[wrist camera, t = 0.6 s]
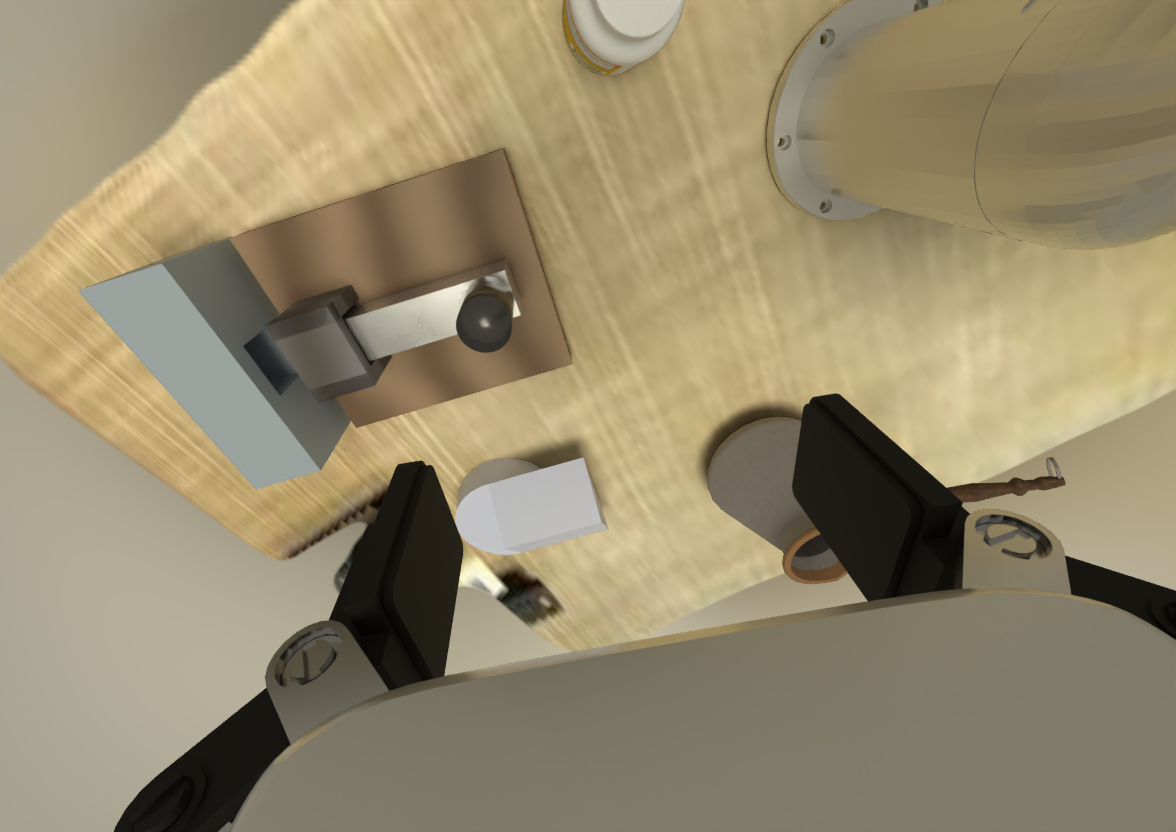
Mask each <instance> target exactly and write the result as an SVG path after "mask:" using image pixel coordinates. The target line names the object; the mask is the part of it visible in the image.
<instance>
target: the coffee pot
mask: <svg viewBox="0 0 1176 832" xmlns="http://www.w3.org/2000/svg"><path fill="white" fill-rule="evenodd" d="M800 428H801V420H798V419H794V418H790V417H770V418H765V419H759V420H757V421H754V422H752V423H749V424H747V425H744V426H743V427H741V428H740V429H738V430H737V431H735V432H734V433H732V434H731V435H730V436H729V437H728V438H727V439H726V440H725V441H724V442H723V443H722V444H721V445H720V446H719V447H718V449H717V451H716V452H715V454H714V455H713V457H712V460H711V463H710V467H709V471H708V489H709V492H710V494H711V497H712V500H713V501H714V502H715V503H716V504H717V505H718V506H719V507H720V508H721V510H723V511H724V512H726V513H727V514H729V515H730V516H732V517H733V518H734V519H736V520H737V521H739V522H740V523H742V524H743V525H745V526H746V527H748V528H749V529H751V530H752V531H753V532H755V533H756V534H758V535H759V536H761V537H762V538H764V539H765V540H767V541H768V542H770V543H771V544H772V545H774V546H775V547H777V548H778V549H780V550H781V551H783V553H784V556H783V562H782V565H783V569H784V572H785V573H786V574H787V575H788V577H790V578H791V579H792V580H794V581H796V582H799V583H804V584H819V583H827V582H833V581H837V580H839V579H840V578H842V577H843V576H845V575H846V574H847V573H848V572H847V571H846V570H845V568H844V567H843V565H842V564H841V563H840V561H839V560H838V558H837V557H836V555H835V554H834V553H833V551H832V550H831V548H830V547H829V546H828V544H827V543H826V541H825V540H824V538H823V537H822V536H821V534H820V533H819V531H818V530H817V529H816V527H815V526H814V524H813V523H812V522H811V520H810V519H809V517H808V516H807V514H806V513H805V512H804V510H803V509H802V507H801V506H800V505H799V503H798V502H797V500H796V499H795V497H794V494H793V491H792V482H793V475H794V468H795V461H796V455H797V448H798V441H799V435H800ZM1050 461H1052V463H1053V465H1054V467H1055V469H1056V473H1057V477H1053V474H1052V470H1051V465H1050ZM1046 464H1047V469H1048V473H1049V476H1048V477H1038V478H1036V479H1034V480H1026V481H1025V480H1022V479H1019V478H1013V479H1011V480H1010V481H1009V482H1008V483H971V484H965V485H960V486H954V487H949V488H947V489H948V490H949V491H950V492H952V493H953V494H954V495H955V496H956V497H957V498H958V499H960V500H961V501H962V502H977V501H981V500H985V499H989V498H993V497H997V496H1002V495H1006V494H1010V493H1013V494H1015V495H1018V496H1023V495H1024V494H1025V493H1026V492H1027V491H1029V490H1036V489H1039V490H1048V489H1052V488H1057V487H1061V486H1063V485H1065V480H1064V478H1063V477H1061V473H1060V469H1059V467H1058V465H1057V463H1056V461H1055V460H1054V458H1053V457H1050V458H1047V461H1046Z"/></svg>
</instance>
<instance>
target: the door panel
mask: <svg viewBox="0 0 1176 832" xmlns="http://www.w3.org/2000/svg"><path fill="white" fill-rule="evenodd" d="M229 239H230V240H231V242H232V243H233V245H234V246H235V248H236V249H237V251H238V252H239V254H240V255H241V257H242V258H243V260H244V261H245V263H246V264H247V266H248V267H249V269H250V270H251V272H252V273H253V274H254V276H255V277H256V279H257V280H258V282H259V283H260V285H261V286H262V288H263V289H264V291H265V292H266V294H267V295H268V297H269V298H270V300H271V301H272V303H273V304H274V306H275V307H276V309H277V310H278V312H279V313H280V315H278V316H277V317H276V318H274V319H273V320H272V321H271V322H269V323H268V324H267V325H265V328H266V329H267V330H268V332H269V333H270V335H271V336H272V338H273V339H274V340H275V342H276V343H277V345H278V346H279V348H280V349H281V350H282V352H283V353H284V355H285V356H286V358H287V359H288V360H289V362H290V363H291V365H292V366H293V368H294V369H295V370H296V372H297V373H298V375H299V376H300V378H301V379H302V380H303V382H304V383H305V385H306V386H307V388H308V389H309V390H310V392H311V393H312V395H313V396H314V398H315V399H316V401H317V402H318V403H320V402H323V401H326V400H330V399H333V398H336V399H337V400H338V402H339V403H340V405H341V406H342V408H343V409H344V411H345V412H346V413H347V415H348V416H349V418H350V419H351V421H352V422H353V424H354V425H355V427H356V428H358V427H361V426H364V425H368V424H371V423H374V422H378V421H381V420H385V419H388V418H391V417H395V416H398V415H402V414H405V413H408V412H412V411H415V410H419V409H422V408H425V407H429V406H432V405H435V404H439V403H442V402H446V401H449V400H452V399H456V398H459V397H463V396H466V395H469V394H473V393H476V392H480V391H483V390H486V389H490V388H493V387H496V386H500V385H503V384H507V383H510V382H513V381H517V380H520V379H524V378H527V377H530V376H534V375H537V374H541V373H544V372H547V371H551V370H554V369H557V368H561V367H564V366H568V365H571V364H572V358H571V353H570V350H569V347H568V344H567V340H566V337H565V334H564V331H563V328H562V325H561V322H560V319H559V316H558V313H557V309H556V306H555V303H554V300H553V297H552V294H551V291H550V288H549V285H548V282H547V279H546V275H545V272H544V269H543V266H542V263H541V260H540V257H539V254H538V251H537V248H536V244H535V241H534V238H533V235H532V232H531V229H530V226H529V223H528V220H527V217H526V214H525V210H524V207H523V204H522V201H521V198H520V195H519V192H518V189H517V186H516V183H515V179H514V176H513V173H512V170H511V167H510V164H509V161H508V158H507V155H506V152H505V149H504V148H503V149H500V150H497V151H494V152H491V153H488V154H485V155H482V156H479V157H476V158H472V159H469V160H466V161H463V162H460V163H457V164H454V165H451V166H448V167H445V168H442V169H439V170H436V171H432V172H429V173H426V174H423V175H420V176H417V177H414V178H411V179H408V180H405V181H402V182H399V183H396V184H393V185H389V186H386V187H383V188H380V189H377V190H374V191H371V192H368V193H365V194H362V195H359V196H356V197H353V198H349V199H346V200H343V201H340V202H337V203H334V204H331V205H328V206H325V207H322V208H319V209H316V210H313V211H309V212H306V213H303V214H300V215H297V216H294V217H291V218H288V219H285V220H282V221H279V222H276V223H273V224H270V225H266V226H263V227H260V228H257V229H254V230H251V231H248V232H245V233H242V234H240V235H237V236H235V237H232V238H229ZM503 259H507V261H508V264H509V267H510V270H511V272H512V275H513V278H514V281H515V283H516V286H517V289H518V292H519V294H520V297H521V300H522V303H521V315H520V316H516V317H513V321H512V331H511V336H510V339H509V340H508V342H507V343H506V345H505V346H503V347H502V348H501V349H499V350H497V351H494V352H490V353H482V352H477V351H474V350H472V349H470V348H469V347H467V346H466V345H465V344H464V343H463V342H462V341H461V339H460V338H459V336H458V334H457V335H454V336H451V337H447V338H444V339H441V340H437V341H434V342H431V343H427V344H424V345H421V346H418V347H414V348H411V349H408V350H404V351H401V352H398V353H394V354H391V355H388V356H385V357H381V358H378V359H375V360H371V361H367V359H366V358H365V356H364V354H363V353H362V351H361V349H360V348H359V346H358V344H357V343H356V341H355V339H354V337H353V336H352V334H351V332H350V331H349V329H348V327H347V326H346V324H345V322H344V321H343V319H342V316H343V315H344V313H345V312H346V311H347V310H348V309H349V308H350V307H352V306H355V305H358V304H362V303H365V302H368V301H371V300H374V299H378V298H381V297H384V296H387V295H391V294H394V293H397V292H400V291H403V290H407V289H410V288H413V287H416V286H419V285H423V284H426V283H429V282H432V281H436V280H439V279H442V278H445V277H448V276H452V275H455V274H458V273H461V272H464V271H468V270H471V269H474V268H477V267H481V266H484V265H487V264H490V263H493V262H497V261H500V260H503Z"/></svg>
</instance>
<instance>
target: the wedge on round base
mask: <svg viewBox="0 0 1176 832" xmlns="http://www.w3.org/2000/svg"><path fill="white" fill-rule="evenodd" d="M456 526H457V529H458V531H459V533H460V534H461V536H462V537H463V538H464V539H465V540H466V541H467V542H468V543H469V544H471V545H472V546H474V547H476V548H478V549H480V550H482V551H485V552H489V553H493V554H502V555H509V554H518V553H522V552H526V551H530V550H534V549H537V548H541V547H545V546H548V545H552V544H556V543H559V542H563V541H567V540H570V539H574V538H578V537H581V536H585V535H589V534H592V533H596V532H600V531H603V530H607V529H608V526H607V523H606V520H605V517H604V515H603V512H602V509H601V506H600V503H599V500H598V498H597V495H596V492H595V489H594V486H593V483H592V481H591V478H590V475H589V472H588V469H587V466H586V463H585V461H584V458H579V459H576V460H572V461H569V462H565V463H561V464H558V465H554V466H551V467H547V468H544V469H541V468H539V467H538V466H536V465H534V464H532V463H530V462H527V461H524V460H520V459H512V458H503V459H495V460H491V461H488V462H485V463H483V464H481V465H479V466H477V467H476V468H474V469H473V470H472V471H471V472H470V473H469V474H468V475H467V476H466V477H465V479H464V481H463V483H462V486H461V490H460V495H459V500H458V506H457V511H456Z"/></svg>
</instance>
